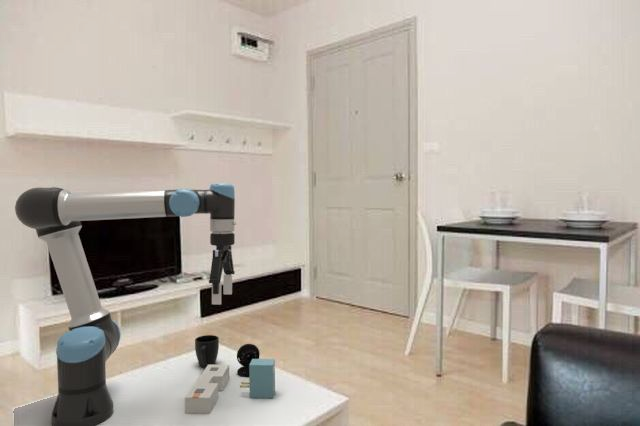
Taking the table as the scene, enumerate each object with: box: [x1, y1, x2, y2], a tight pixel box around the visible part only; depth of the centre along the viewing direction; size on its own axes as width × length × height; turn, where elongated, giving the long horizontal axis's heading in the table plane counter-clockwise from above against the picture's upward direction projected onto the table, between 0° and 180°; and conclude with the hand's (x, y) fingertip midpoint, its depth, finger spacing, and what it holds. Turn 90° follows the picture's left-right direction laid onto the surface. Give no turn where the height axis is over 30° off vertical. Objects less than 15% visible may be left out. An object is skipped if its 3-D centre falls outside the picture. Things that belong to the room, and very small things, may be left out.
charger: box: [239, 358, 276, 399], centre depth 138 cm, size 10×5×10 cm, turn 88°
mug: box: [194, 334, 220, 369], centre depth 160 cm, size 8×12×10 cm
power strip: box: [184, 364, 230, 414], centre depth 142 cm, size 7×32×5 cm, turn 178°
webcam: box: [236, 343, 260, 378], centre depth 154 cm, size 8×8×10 cm
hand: (222, 299), depth 144 cm, fingers open, 13 cm apart
